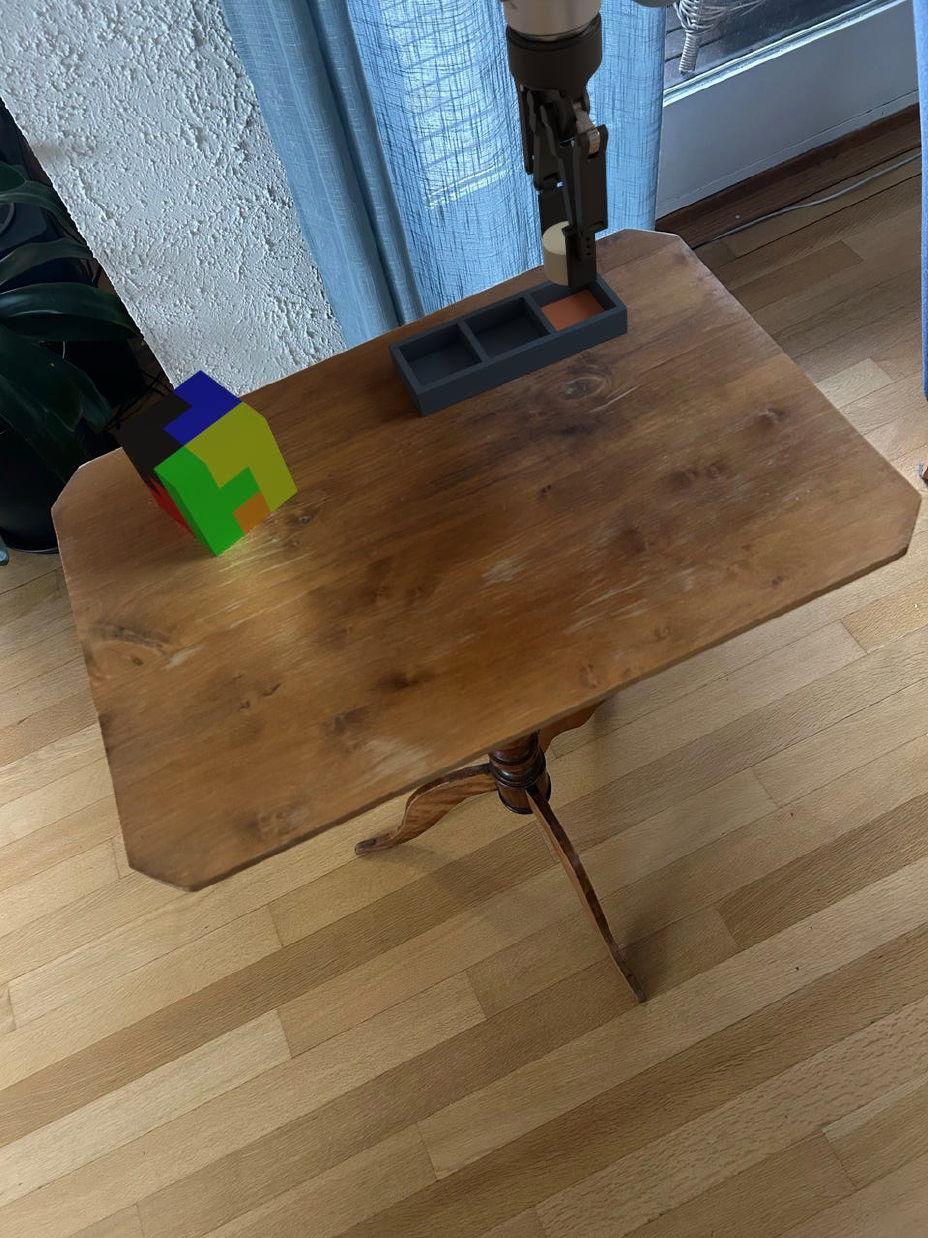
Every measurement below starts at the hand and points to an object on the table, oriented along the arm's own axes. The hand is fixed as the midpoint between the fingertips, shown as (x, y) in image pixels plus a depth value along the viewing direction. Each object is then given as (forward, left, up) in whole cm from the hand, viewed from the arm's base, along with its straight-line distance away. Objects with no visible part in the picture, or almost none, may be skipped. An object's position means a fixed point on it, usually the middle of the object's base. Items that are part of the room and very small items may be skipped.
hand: (569, 265), depth 96 cm
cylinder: (0, 0, 0) cm, 0 cm away
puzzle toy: (-4, +39, -7) cm, 40 cm away
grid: (0, +7, -7) cm, 10 cm away
